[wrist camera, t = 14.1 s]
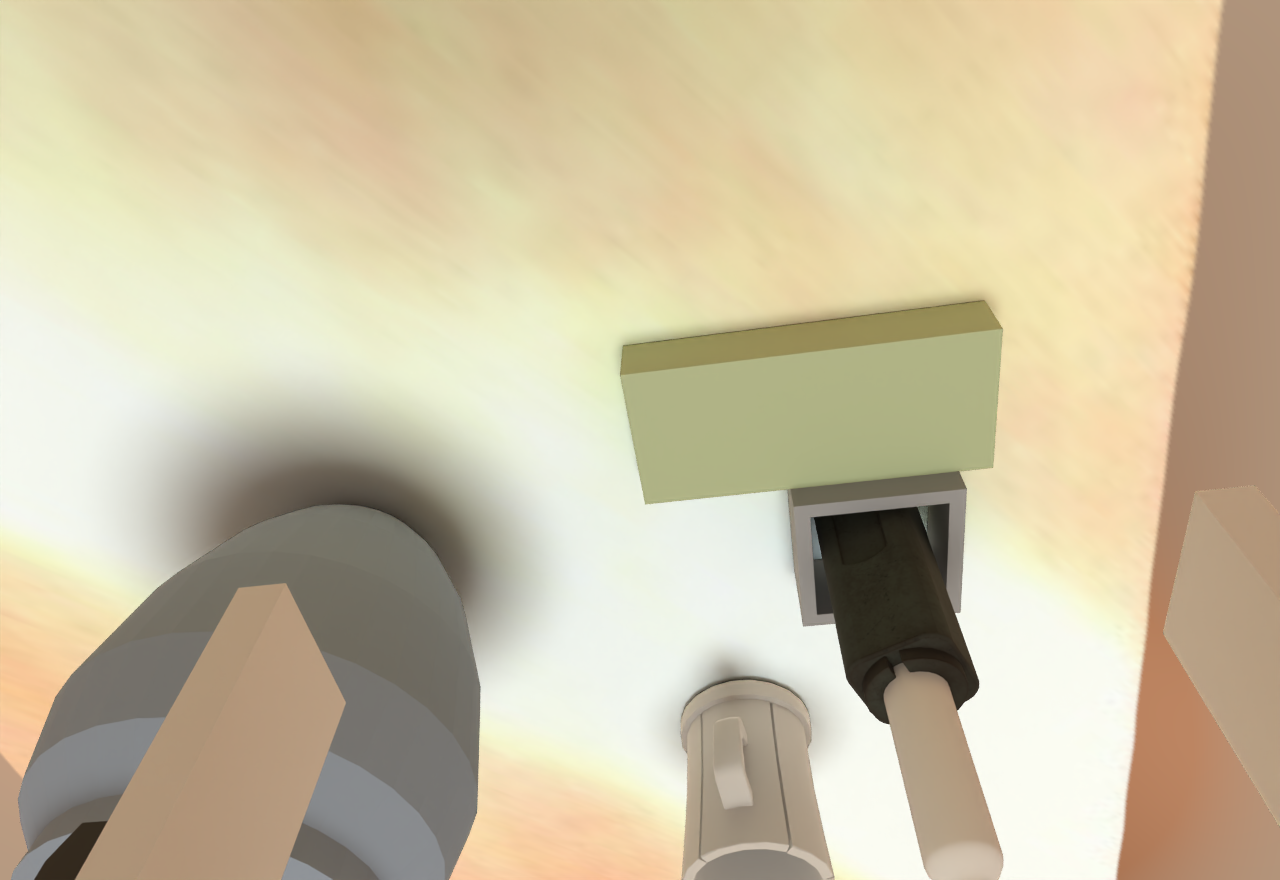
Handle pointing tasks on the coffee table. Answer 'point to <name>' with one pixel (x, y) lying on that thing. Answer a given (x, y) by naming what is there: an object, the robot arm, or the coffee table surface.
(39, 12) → the coffee table surface
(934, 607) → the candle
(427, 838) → the vase
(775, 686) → the cup
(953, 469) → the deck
